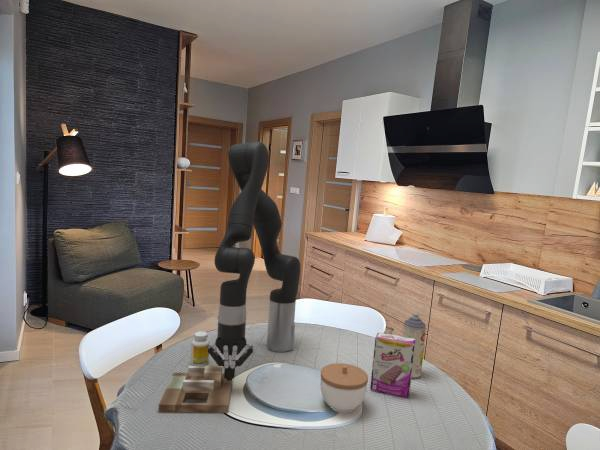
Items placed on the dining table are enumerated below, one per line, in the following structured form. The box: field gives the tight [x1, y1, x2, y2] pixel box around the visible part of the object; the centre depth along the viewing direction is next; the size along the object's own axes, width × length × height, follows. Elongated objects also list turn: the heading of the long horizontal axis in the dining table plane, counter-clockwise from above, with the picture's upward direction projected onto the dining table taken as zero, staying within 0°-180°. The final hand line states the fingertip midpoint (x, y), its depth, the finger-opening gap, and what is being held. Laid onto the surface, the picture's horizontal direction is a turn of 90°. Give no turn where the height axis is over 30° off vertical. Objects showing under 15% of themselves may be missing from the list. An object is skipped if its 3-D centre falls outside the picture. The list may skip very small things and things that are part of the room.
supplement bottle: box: [190, 331, 210, 366], centre depth 130 cm, size 5×5×10 cm
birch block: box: [204, 364, 223, 387], centre depth 114 cm, size 4×4×4 cm
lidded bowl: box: [320, 362, 369, 414], centre depth 110 cm, size 13×13×11 cm
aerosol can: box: [402, 312, 427, 380], centre depth 131 cm, size 7×7×20 cm
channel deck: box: [158, 365, 233, 414], centre depth 111 cm, size 17×17×4 cm
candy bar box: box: [369, 331, 416, 399], centre depth 120 cm, size 11×5×16 cm, turn 71°
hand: (229, 379), depth 115 cm, fingers closed
